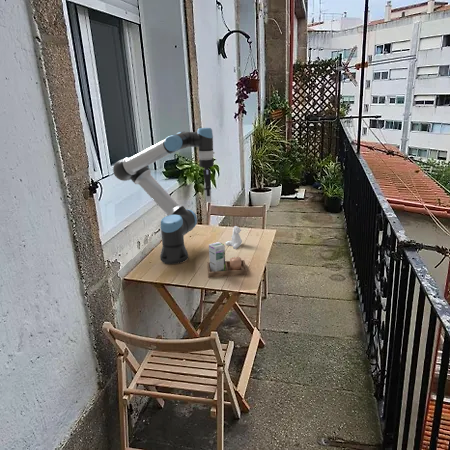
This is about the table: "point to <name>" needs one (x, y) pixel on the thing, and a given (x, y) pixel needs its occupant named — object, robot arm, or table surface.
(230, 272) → the caddy
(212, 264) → the syrup box
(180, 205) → the robot arm
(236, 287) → the table surface
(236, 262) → the tan rounded block
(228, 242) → the sitting furry creature
